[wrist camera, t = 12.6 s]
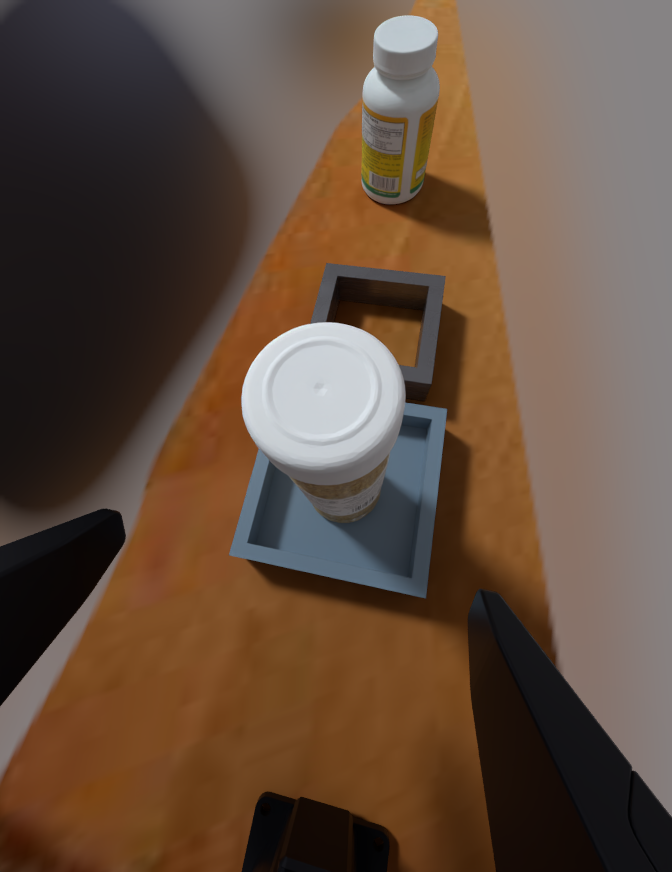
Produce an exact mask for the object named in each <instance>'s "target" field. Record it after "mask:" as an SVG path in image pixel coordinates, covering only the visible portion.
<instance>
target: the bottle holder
mask: <svg viewBox="0 0 672 872" xmlns="http://www.w3.org/2000/svg"><path fill="white" fill-rule="evenodd" d="M445 277H446V276H440V275H430V274H421V273H412V272H403V271H394V270H385V269H375V268H366V267H357V266H348V265H339V264H330V263H326V267H325V271H324V274H323V278H322V282H321V286H320V289H319V293H318V297H317V301H316V305H315V308H314V312H313V316H312V320H311V324H313V323H324V322H332V323H334V320H335V316H336V312H337V308H338V303H339V300H343V301H352V302H360V303H368V304H376V305H385V306H393V307H401V308H409V309H418V310H423V315H422V322H421V329H420V335H419V342H418V349H417V355H416V362H415V367H409V366H402V365H399V367H400V369H401V372H402V375H403V379H404V384H405V394H406V399H413V400H420V401H425V399H426V397H427V394H428V392H429V389H430V387H431V384H432V376H433V369H434V361H435V353H436V346H437V338H438V330H439V323H440V315H441V307H442V300H443V292H444V284H445Z"/></svg>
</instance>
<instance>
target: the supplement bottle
mask: <svg viewBox="0 0 672 872" xmlns="http://www.w3.org/2000/svg"><path fill="white" fill-rule="evenodd" d="M437 40H438V31H437V28H436V26H435V25H434V24H433V23H432V22H431V21H429V20H427V19H425V18H422V17H418V16H399V17H394V18H391V19H389V20H387V21H385V22H383V23H382V24H381V25H380V26H379V27H378V28H377V29H376V31H375V34H374V51H373V61H374V66H375V67H374V68H373V69H372V70H371V71H370V73H369V74H368V76H367V78H366V80H365V82H364V86H363V101H362V186H363V188H364V190H365V192H366V193H367V195H368V196H369V197H370V198H372V199H373V200H375V201H377V202H380V203H383V204H399V203H403V202H406V201H408V200H410V199H412V198H413V197H414V196H415V195H416V194H417V193H418V192H419V191H420V189H421V187H422V185H423V182H424V176H425V170H426V165H427V159H428V154H429V148H430V142H431V136H432V131H433V125H434V119H435V114H436V108H437V103H438V96H439V79H438V76H437V74H436V72H435V70H434V69H433V68H432V65H433V62H434V60H435V57H436V47H437Z"/></svg>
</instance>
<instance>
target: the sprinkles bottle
mask: <svg viewBox="0 0 672 872" xmlns="http://www.w3.org/2000/svg"><path fill="white" fill-rule="evenodd" d="M405 398H406V394H405V384H404V379H403V375H402V372H401V369H400V367H399V365H398V363H397V361H396V359H395V358H394V356H393V355H392V353H391V352H390V351H389V350H388V349H387V348H386V346H385V345H383V344H382V343H381V342H380V341H379V340H378V339H376V338H375V337H374V336H372V335H371V334H369V333H367V332H365V331H363V330H361V329H359V328H356V327H353V326H350V325H346V324H340V323H332V322H324V323H313V324H308V325H303V326H300V327H297V328H294V329H292V330H290V331H288V332H286V333H284V334H282V335H280V336H279V337H277V338H276V339H274V340H273V341H272V342H270V343H269V344H268V345H267V346H266V347H265V348H264V349H263V350H262V351H261V352H260V353H259V355H258V356H257V357H256V359H255V360H254V361H253V363H252V365H251V367H250V369H249V371H248V373H247V375H246V378H245V381H244V385H243V389H242V412H243V418H244V421H245V424H246V427H247V429H248V431H249V434H250V435H251V437H252V439H253V440H254V442H255V443H256V445H257V446H258V447H259V449H260V450H261V451H262V452H263V454H264V455H265V456H266V457H267V458H268V459H269V460H270V462H271V463H272V464H273V465H274V466H275V467H276V468H278V469H279V470H280V471H282V472H283V473H285V474H287V475H288V476H289V477H290V478H291V480H292V481H293V482H294V483H295V484H296V485H297V486H298V488H299V489H300V490H301V491H302V492H303V494H304V495H305V496H306V497H307V499H308V500H309V501H310V502H311V503H312V505H313V506H314V508H315V510H316V511H317V512H318V513H319V514H320V515H321V516H323V517H325V518H326V519H328V520H330V521H334V522H338V523H350V522H354V521H357V520H360V519H361V518H363V517H365V516H366V515H367V514H368V513H369V512H371V511H372V510H373V509H374V507H375V506H376V503H377V502H378V500H379V497H380V492H381V487H382V484H383V480H384V476H385V473H386V469H387V465H388V461H389V456H390V451H391V450H392V448H393V446H394V444H395V442H396V440H397V437H398V434H399V431H400V427H401V424H402V419H403V413H404V408H405Z"/></svg>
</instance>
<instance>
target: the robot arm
mask: <svg viewBox="0 0 672 872" xmlns="http://www.w3.org/2000/svg"><path fill="white" fill-rule="evenodd" d="M125 538H126V534H125V529H124V525H123V520H122V516H121V514H120V512H118V511H115V510H110V509H100V510H97V511H95V512H92V513H89V514H86V515H84V516H81V517H79V518H76V519H73V520H71V521H68V522H65V523H62V524H60V525H57V526H54V527H52V528H49V529H46V530H43V531H41V532H38V533H35V534H33V535H30V536H27V537H25V538H22V539H19V540H17V541H14V542H11V543H9V544H6V545H3V546H1V547H0V706H1V705H2V703H3V702H4V701H5V700H6V699H7V697H8V696H9V695H10V694H11V692H12V691H13V690H14V689H15V687H16V686H17V685H18V684H19V682H20V681H21V680H22V678H23V677H24V676H25V675H26V674H27V673H28V671H29V670H30V669H31V667H32V666H33V665H34V664H35V663H36V661H37V660H38V659H39V658H40V656H41V655H42V654H43V653H44V651H45V650H46V649H47V648H48V647H49V645H50V644H51V643H52V642H53V640H54V639H55V638H56V637H57V635H58V634H59V633H60V632H61V630H62V629H63V628H64V627H65V625H66V624H67V623H68V622H69V621H70V619H71V618H72V617H73V616H74V614H75V613H76V612H77V611H78V609H79V608H80V607H81V606H82V604H83V603H84V602H85V600H86V599H87V597H88V596H89V595H90V593H91V592H92V591H93V589H94V588H95V586H96V585H97V583H98V582H99V580H100V579H101V577H102V576H103V574H104V573H105V571H106V570H107V568H108V567H109V565H110V564H111V562H112V561H113V559H114V558H115V556H116V555H117V553H118V552H119V551H120V549H121V548H122V546H123V544H124V542H125ZM468 644H469V669H470V690H471V701H472V709H473V715H474V722H475V729H476V736H477V743H478V750H479V757H480V764H481V771H482V777H483V784H484V791H485V798H486V805H487V812H488V819H489V826H490V833H491V839H492V846H493V853H494V860H495V867H496V872H672V817H671V815H670V814H669V813H668V812H667V810H666V809H665V808H664V807H663V805H662V804H661V803H660V802H659V800H658V799H657V798H656V796H655V795H654V794H653V793H652V791H651V790H650V789H649V787H648V786H647V785H646V783H645V782H644V781H643V780H642V778H641V777H640V776H639V775H638V773H637V772H636V771H632V766H631V764H630V763H629V762H628V760H627V759H626V758H625V757H624V755H623V754H622V753H621V752H620V750H619V749H618V747H617V746H616V745H615V744H614V742H613V741H612V740H611V738H610V737H609V736H608V734H607V733H606V732H605V731H604V729H603V728H602V727H601V725H600V724H599V723H598V722H597V720H596V719H595V718H594V716H593V715H592V714H591V712H590V711H589V710H588V709H587V707H586V706H585V705H584V703H583V702H582V701H581V700H580V698H579V697H578V696H577V694H576V693H575V692H574V690H573V689H572V688H571V686H570V685H569V684H568V682H567V681H566V680H565V679H564V677H563V676H562V675H561V673H560V672H559V671H558V669H557V668H556V667H555V666H554V664H553V663H552V662H551V660H550V659H549V658H548V657H547V655H546V654H545V653H544V651H543V650H542V649H541V647H540V646H539V645H538V644H537V642H536V641H535V640H534V638H533V637H532V636H531V634H530V633H529V632H528V631H527V629H526V628H525V627H524V625H523V624H522V623H521V621H520V620H519V619H518V618H517V616H516V615H515V614H514V612H513V611H512V610H511V608H510V607H509V606H508V605H507V603H506V602H505V601H504V599H503V598H502V597H501V596H500V594H498V593H497V592H495V591H490V590H485V589H479V590H478V591H477V593H476V595H475V598H474V600H473V603H472V606H471V608H470V611H469V614H468ZM263 803H268V804H269V805H270V807H271V810H269V811H265V810H264V809H263V806H262V804H263ZM377 837H380V838H381V839H382V840H383V843H382V844H381V845H376V844H375V843H374V839H375V838H377ZM388 855H389V836H388V833H387V831H386V829H385V828H384V827H382V826H381V825H378V824H375V823H372V822H368V821H365V820H362V819H358V818H355V817H352V816H351V814H350V812H349V811H347V810H344V809H341V808H337V807H334V806H331V805H327V804H324V803H321V802H317V801H314V800H311V799H307V798H304V797H300V798H299V799H297V800H295V799H292V798H289V797H285V796H282V795H279V794H275V793H272V792H265V793H262V795H261V796H260V797H259V799H258V802H257V804H256V807H255V812H254V817H253V821H252V826H251V831H250V835H249V840H248V845H247V849H246V854H245V859H244V863H243V868H242V872H387V864H388Z"/></svg>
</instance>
